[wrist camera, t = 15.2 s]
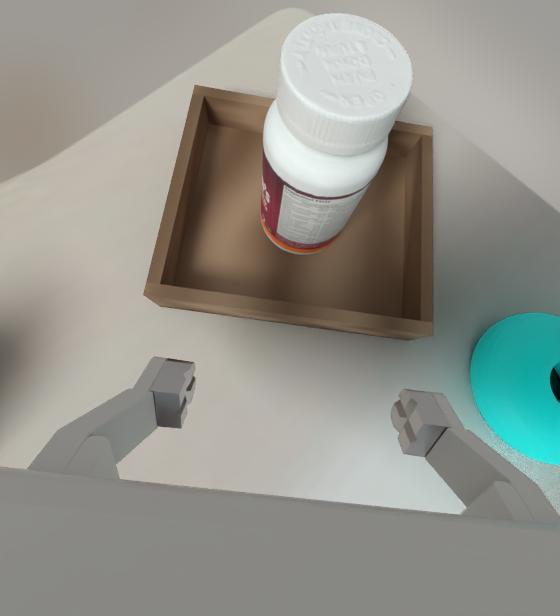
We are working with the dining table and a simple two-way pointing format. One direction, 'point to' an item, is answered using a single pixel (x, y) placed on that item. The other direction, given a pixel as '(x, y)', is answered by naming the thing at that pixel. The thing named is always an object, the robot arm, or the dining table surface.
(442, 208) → the dining table surface
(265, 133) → the pill bottle
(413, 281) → the tray
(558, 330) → the donuts
